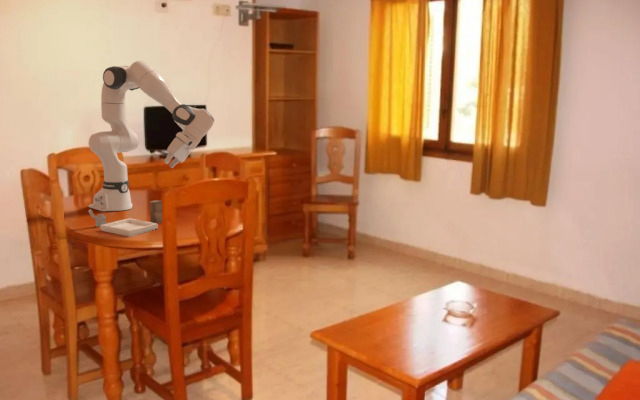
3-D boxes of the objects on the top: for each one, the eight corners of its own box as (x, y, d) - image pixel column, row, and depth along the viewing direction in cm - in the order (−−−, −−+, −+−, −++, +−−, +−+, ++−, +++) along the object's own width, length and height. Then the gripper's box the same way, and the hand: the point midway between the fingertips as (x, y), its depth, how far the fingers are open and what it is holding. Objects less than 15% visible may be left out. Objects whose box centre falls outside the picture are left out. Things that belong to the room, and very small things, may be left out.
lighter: (105, 225, 268) (104, 207, 266) (106, 225, 267) (105, 208, 265) (88, 226, 264) (87, 209, 263) (89, 227, 263) (88, 210, 261)
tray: (100, 230, 259) (100, 225, 258) (129, 223, 272) (129, 218, 272) (129, 236, 250) (129, 231, 249) (158, 229, 263) (157, 223, 263)
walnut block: (150, 222, 274) (149, 201, 272) (157, 221, 277) (156, 200, 275) (156, 224, 272) (156, 202, 270) (163, 222, 275) (162, 201, 273)
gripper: (186, 142, 279) (167, 165, 278) (177, 131, 259) (156, 156, 257) (197, 150, 279) (178, 173, 277) (188, 140, 258) (168, 165, 257)
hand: (167, 165), depth 267 cm, fingers open, 8 cm apart
